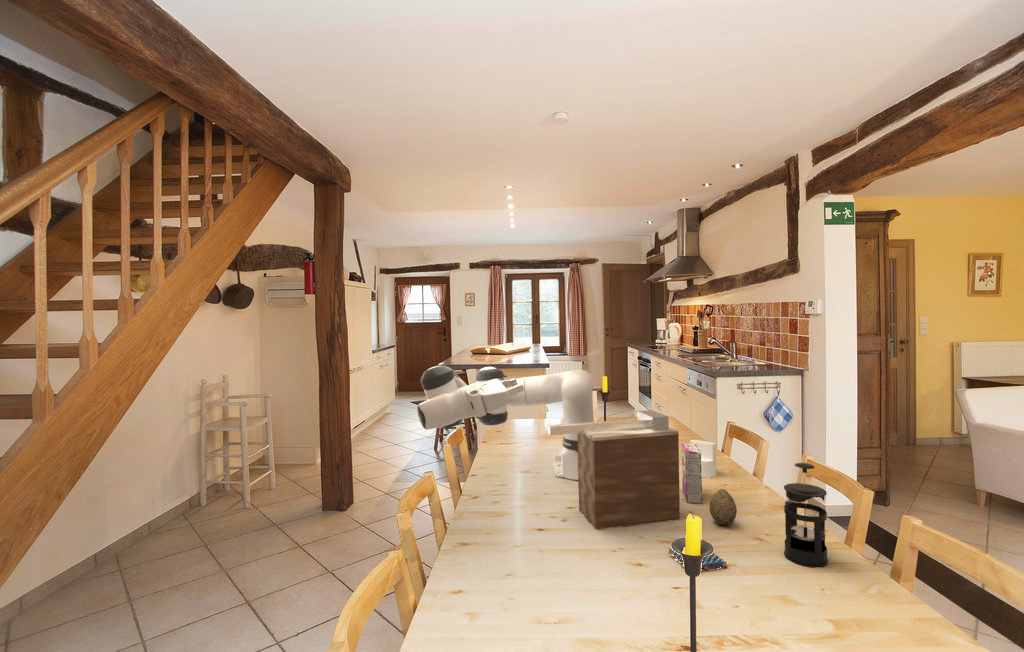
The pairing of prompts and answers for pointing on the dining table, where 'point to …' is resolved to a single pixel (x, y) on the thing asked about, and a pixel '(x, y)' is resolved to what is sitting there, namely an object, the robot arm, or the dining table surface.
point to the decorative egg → (723, 507)
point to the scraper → (615, 424)
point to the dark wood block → (628, 477)
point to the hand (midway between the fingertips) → (519, 384)
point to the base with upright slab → (707, 457)
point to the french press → (802, 534)
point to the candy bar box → (691, 473)
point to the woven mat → (705, 561)
